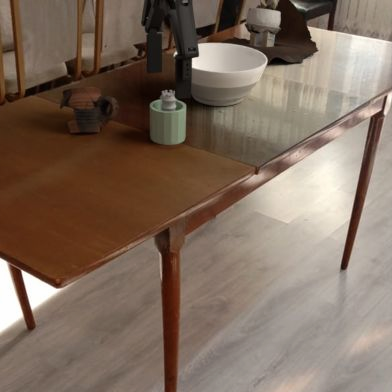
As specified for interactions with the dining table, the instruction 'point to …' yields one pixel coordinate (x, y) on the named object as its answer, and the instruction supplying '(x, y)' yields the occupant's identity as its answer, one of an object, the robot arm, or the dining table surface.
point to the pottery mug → (88, 108)
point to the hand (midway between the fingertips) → (168, 84)
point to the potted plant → (277, 32)
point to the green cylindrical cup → (167, 123)
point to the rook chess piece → (168, 101)
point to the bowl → (225, 73)
